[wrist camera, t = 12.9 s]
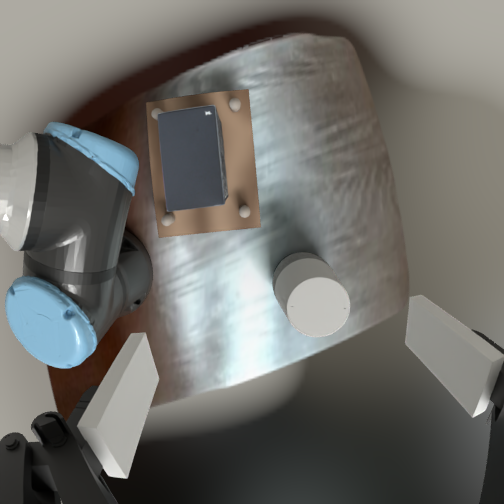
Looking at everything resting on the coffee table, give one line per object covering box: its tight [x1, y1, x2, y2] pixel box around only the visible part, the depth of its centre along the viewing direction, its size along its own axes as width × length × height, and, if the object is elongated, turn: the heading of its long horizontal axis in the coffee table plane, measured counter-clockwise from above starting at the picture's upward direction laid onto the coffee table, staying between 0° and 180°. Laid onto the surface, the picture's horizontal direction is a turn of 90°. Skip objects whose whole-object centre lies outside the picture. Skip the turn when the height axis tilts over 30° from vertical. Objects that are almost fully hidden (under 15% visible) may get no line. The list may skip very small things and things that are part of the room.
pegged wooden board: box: [146, 89, 261, 238], centre depth 41 cm, size 14×19×8 cm
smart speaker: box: [273, 252, 350, 337], centre depth 43 cm, size 10×9×14 cm
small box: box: [157, 105, 228, 212], centre depth 34 cm, size 11×6×10 cm, turn 6°
